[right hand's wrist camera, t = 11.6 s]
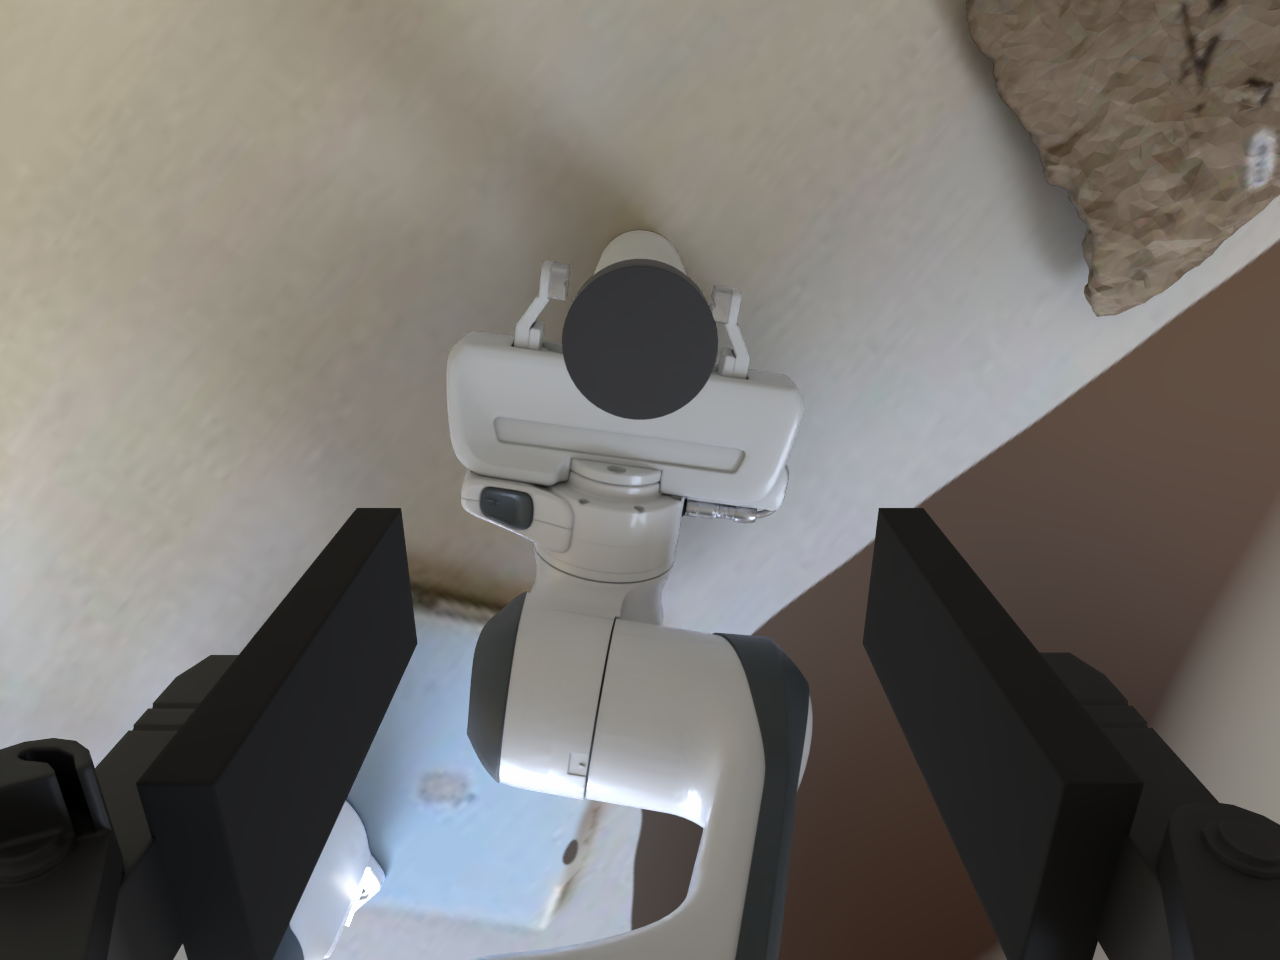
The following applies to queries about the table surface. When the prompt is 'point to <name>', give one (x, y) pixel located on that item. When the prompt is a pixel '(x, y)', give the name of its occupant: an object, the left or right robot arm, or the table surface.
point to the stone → (1144, 123)
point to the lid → (640, 339)
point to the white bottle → (639, 250)
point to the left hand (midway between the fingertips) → (642, 275)
